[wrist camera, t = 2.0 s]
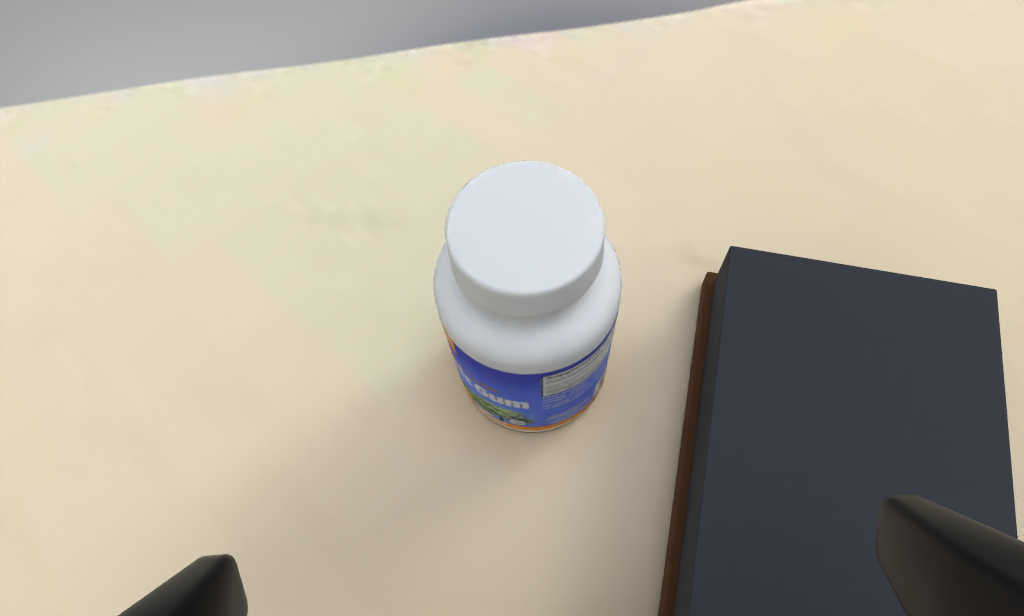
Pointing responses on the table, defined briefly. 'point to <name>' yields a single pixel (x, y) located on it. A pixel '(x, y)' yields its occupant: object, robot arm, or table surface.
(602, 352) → the pill bottle
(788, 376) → the blackboard eraser
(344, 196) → the table surface
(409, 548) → the table surface
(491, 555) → the table surface
